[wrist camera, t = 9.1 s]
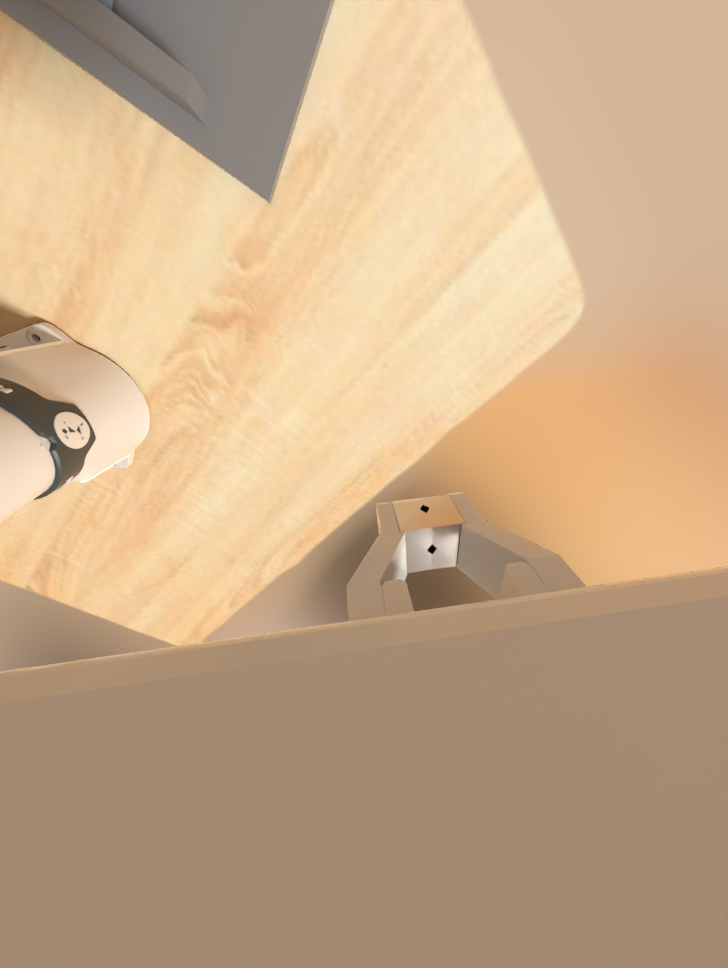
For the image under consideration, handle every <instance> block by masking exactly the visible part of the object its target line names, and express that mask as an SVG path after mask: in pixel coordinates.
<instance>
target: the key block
mask: <svg viewBox="0 0 728 968" xmlns="http://www.w3.org/2000/svg"><path fill="white" fill-rule="evenodd" d="M99 1H100V2H101V3H102V4H104V5H105V6H106V7H107V8H109V9H110V10H111V11H112V7H113V0H99Z"/></svg>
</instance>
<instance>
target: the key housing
mask: <svg viewBox="0 0 728 968" xmlns="http://www.w3.org/2000/svg"><path fill="white" fill-rule="evenodd" d="M333 3H334V0H113V7H112V11H111V10H110V9H109V8H107V7H106V6H105V5H104V4H102V3H101V2H100V1H99V0H0V10H1V11H2V12H3V13H5V14H6V15H8V16H9V17H10V18H12V19H13V20H15V21H16V22H17V23H19V24H20V25H22V26H23V27H24V28H26V29H27V30H29V31H30V32H31V33H33V34H34V35H36V36H37V37H38V38H40V39H41V40H43V41H44V42H45V43H47V44H48V45H50V46H51V47H52V48H54V49H55V50H57V51H58V52H59V53H61V54H62V55H64V56H65V57H66V58H68V59H69V60H71V61H72V62H73V63H75V64H76V65H78V66H79V67H80V68H82V69H83V70H84V71H86V72H87V73H89V74H90V75H91V76H93V77H94V78H96V79H97V80H98V81H100V82H101V83H103V84H104V85H105V86H107V87H108V88H110V89H111V90H112V91H114V92H115V93H117V94H118V95H119V96H121V97H122V98H124V99H125V100H126V101H128V102H129V103H131V104H132V105H133V106H135V107H136V108H138V109H139V110H140V111H142V112H143V113H145V114H146V115H147V116H149V117H150V118H152V119H153V120H154V121H156V122H157V123H159V124H160V125H161V126H163V127H164V128H166V129H167V130H168V131H170V132H171V133H173V134H174V135H175V136H177V137H178V138H180V139H181V140H182V141H184V142H185V143H187V144H188V145H189V146H191V147H192V148H194V149H195V150H196V151H198V152H199V153H201V154H202V155H203V156H205V157H206V158H208V159H209V160H210V161H212V162H213V163H215V164H216V165H217V166H219V167H220V168H222V169H223V170H224V171H226V172H227V173H229V174H230V175H231V176H233V177H234V178H236V179H237V180H238V181H240V182H241V183H243V184H244V185H245V186H247V187H248V188H250V189H251V190H252V191H254V192H255V193H257V194H258V195H259V196H261V197H262V198H264V199H265V200H266V201H268V202H269V203H271V200H272V197H273V194H274V191H275V188H276V185H277V181H278V178H279V175H280V172H281V169H282V165H283V162H284V159H285V156H286V153H287V150H288V146H289V143H290V140H291V137H292V134H293V130H294V127H295V124H296V121H297V118H298V115H299V111H300V108H301V105H302V102H303V99H304V95H305V92H306V89H307V86H308V83H309V80H310V76H311V73H312V70H313V67H314V64H315V61H316V57H317V54H318V51H319V48H320V45H321V41H322V38H323V35H324V32H325V29H326V26H327V22H328V19H329V16H330V13H331V10H332V6H333Z"/></svg>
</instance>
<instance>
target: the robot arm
mask: <svg viewBox="0 0 728 968" xmlns="http://www.w3.org/2000/svg"><path fill="white" fill-rule="evenodd" d="M37 335H38V336H39V337H40V340H39V339H38V338H37ZM149 427H150V414H149V409H148V406H147V403H146V401H145V398H144V396H143V394H142V393H141V391H140V389H139V388H138V386H137V385H136V384H135V382H134V381H133V380H132V379H131V378H130V377H129V376H128V375H127V374H126V373H125V372H124V371H123V370H122V369H121V368H120V367H119V366H117V365H116V364H115V363H113V362H112V361H111V360H109V359H107V358H106V357H104V356H102V355H101V354H99V353H97V352H95V351H92V350H90V349H88V348H86V347H83V346H81V345H79V344H78V343H76V342H74V341H73V340H72V339H71V338H69V337H68V336H67V335H66V334H65V333H63V332H62V331H61V330H59V329H58V328H57V327H55V326H53V325H52V324H50V323H46V322H41V323H37V324H34V325H31V326H28V327H26V328H23V329H20V330H18V331H15V332H12V333H10V334H7V335H4V336H2V337H0V523H2V522H3V521H4V520H6V519H7V518H8V517H10V516H11V515H12V514H14V513H15V512H16V511H18V510H19V509H21V508H22V507H23V506H25V505H26V504H28V503H29V502H31V501H32V500H35V499H39V498H42V497H45V496H47V495H49V494H50V493H52V492H55V491H57V490H59V489H61V488H62V487H64V486H65V485H67V484H68V483H69V482H78V481H79V482H81V483H83V482H87V481H89V480H91V479H92V478H94V477H96V476H97V475H99V474H101V473H102V472H104V471H105V470H107V469H109V468H126V467H127V466H129V465H131V464H132V462H133V459H134V454H135V450H136V448H137V447H138V446H139V445H140V444H141V443H142V442H143V440H144V439H145V437H146V436H147V434H148V431H149ZM376 509H377V520H378V529H379V536H378V537H377V539H376V540H375V542H374V543H373V545H372V547H371V548H370V550H369V551H368V553H367V555H366V556H365V558H364V559H363V561H362V562H361V564H360V566H359V567H358V568H357V570H356V572H355V573H354V575H353V577H352V578H351V580H350V581H349V583H348V584H347V603H348V621H347V622H340V623H334V624H326V625H319V626H312V627H306V628H299V629H292V630H285V631H278V632H271V633H264V634H258V635H251V636H244V637H237V638H230V639H223V640H216V641H210V642H202V643H196V644H189V645H182V646H175V647H168V648H161V649H155V650H147V651H141V652H134V653H127V654H120V655H113V656H106V657H100V658H93V659H86V660H79V661H72V662H65V663H59V664H52V665H44V666H37V667H29V668H22V669H13V670H6V671H2V672H0V968H728V566H725V567H718V568H712V569H705V570H698V571H691V572H685V573H677V574H670V575H663V576H656V577H650V578H643V579H636V580H630V581H622V582H616V583H608V584H602V585H595V586H588V587H586V586H585V584H584V583H583V582H582V581H581V580H580V579H579V577H578V576H577V575H576V574H575V573H574V572H573V571H572V569H571V568H570V567H569V566H568V565H567V564H566V562H564V560H563V559H562V558H561V557H560V556H559V555H557V554H555V553H553V552H551V551H549V550H547V549H545V548H543V547H541V546H539V545H537V544H535V543H533V542H531V541H529V540H526V539H524V538H522V537H520V536H518V535H516V534H514V533H512V532H510V531H508V530H506V529H504V528H502V527H500V526H498V525H495V524H494V523H491V522H489V521H487V520H486V521H482V519H481V518H480V516H479V515H478V513H477V512H476V510H475V509H474V507H473V506H472V504H471V503H470V501H469V500H468V499H467V497H466V495H465V494H464V493H463V492H457V493H451V494H447V495H441V496H434V497H427V498H418V499H410V500H401V501H392V502H385V503H377V504H376ZM454 566H457V568H458V569H460V570H461V571H462V572H463V573H465V574H466V575H467V576H468V577H469V578H471V579H472V580H473V581H474V582H476V583H477V584H478V585H480V587H482V588H483V589H484V590H485V591H487V592H488V593H489V594H490V595H492V596H493V597H494V598H495V599H496V600H491V601H485V602H478V603H471V604H464V605H457V606H450V607H443V608H436V609H429V610H423V611H416V612H414V610H413V606H412V603H411V599H410V595H409V591H408V587H407V584H406V582H405V578H406V576H407V573H411V572H417V571H423V570H429V569H437V568H445V567H454Z"/></svg>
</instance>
